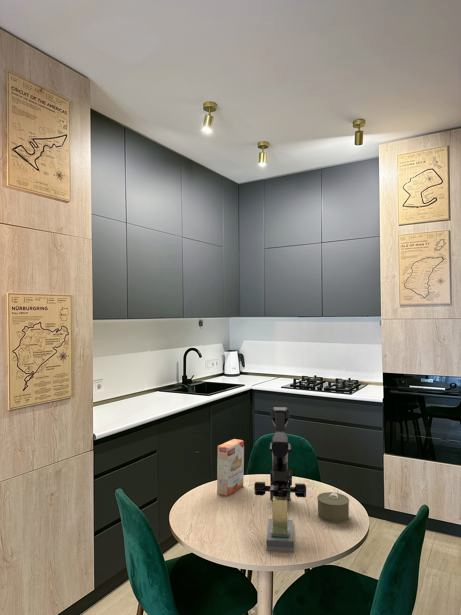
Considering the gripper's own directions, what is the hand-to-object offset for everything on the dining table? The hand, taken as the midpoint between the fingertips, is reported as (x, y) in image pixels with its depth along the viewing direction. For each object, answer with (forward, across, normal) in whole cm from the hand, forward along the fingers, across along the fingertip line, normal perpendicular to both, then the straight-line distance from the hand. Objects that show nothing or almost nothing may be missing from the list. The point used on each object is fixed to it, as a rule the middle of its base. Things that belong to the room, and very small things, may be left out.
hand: (280, 513), depth 153 cm
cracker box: (-22, -22, +33) cm, 46 cm away
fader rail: (+6, 0, +6) cm, 8 cm away
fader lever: (+6, 0, +3) cm, 6 cm away
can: (-7, +20, +18) cm, 28 cm away
